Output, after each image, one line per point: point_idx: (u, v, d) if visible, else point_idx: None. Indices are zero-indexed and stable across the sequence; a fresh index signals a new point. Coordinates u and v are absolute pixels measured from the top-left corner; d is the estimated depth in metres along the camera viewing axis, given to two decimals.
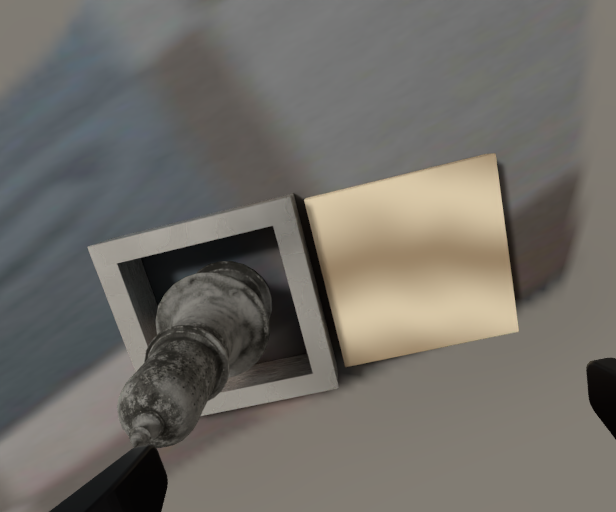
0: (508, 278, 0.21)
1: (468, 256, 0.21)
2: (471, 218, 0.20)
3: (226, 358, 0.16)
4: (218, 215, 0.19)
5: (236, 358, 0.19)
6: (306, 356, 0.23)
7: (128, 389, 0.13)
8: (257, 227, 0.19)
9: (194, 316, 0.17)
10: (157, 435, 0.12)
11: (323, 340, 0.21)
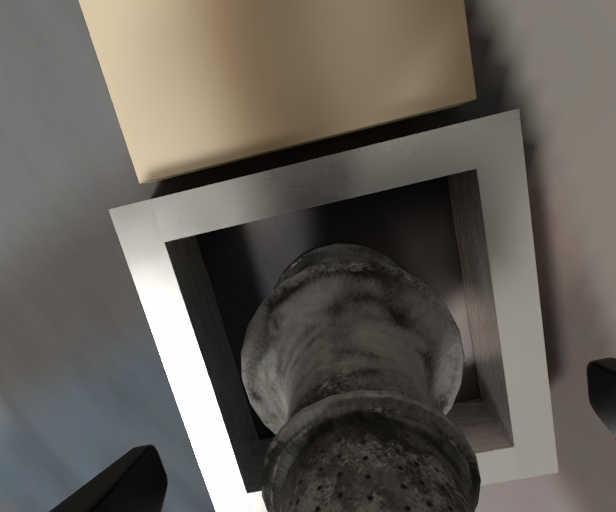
0: None
1: None
2: None
3: (348, 398, 0.06)
4: (154, 334, 0.11)
5: (412, 332, 0.09)
6: (451, 182, 0.12)
7: None
8: (169, 270, 0.11)
9: None
10: None
11: (400, 144, 0.10)
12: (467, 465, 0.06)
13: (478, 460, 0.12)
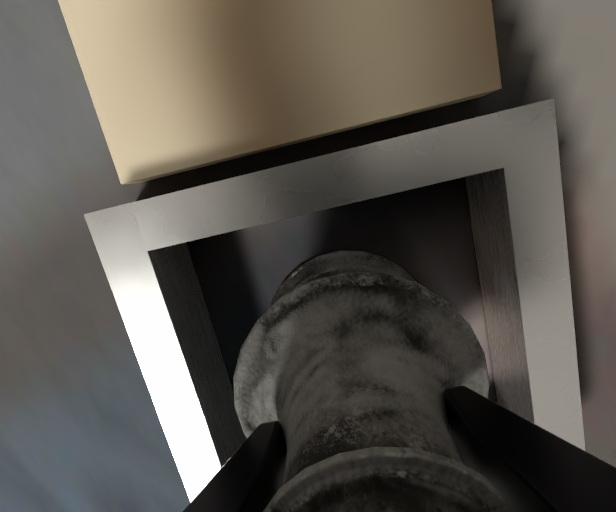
0: None
1: None
2: None
3: (363, 457, 0.05)
4: (137, 354, 0.10)
5: (431, 357, 0.08)
6: (470, 182, 0.11)
7: None
8: (153, 282, 0.09)
9: None
10: None
11: (416, 139, 0.08)
12: None
13: None
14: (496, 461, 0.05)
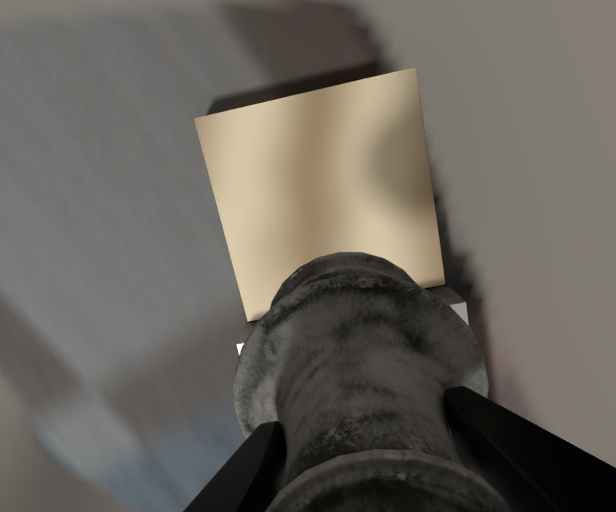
0: (342, 88, 0.17)
1: (311, 141, 0.17)
2: (267, 141, 0.17)
3: (363, 460, 0.05)
4: None
5: (431, 359, 0.08)
6: None
7: None
8: None
9: None
10: None
11: None
12: None
13: None
14: (496, 461, 0.05)
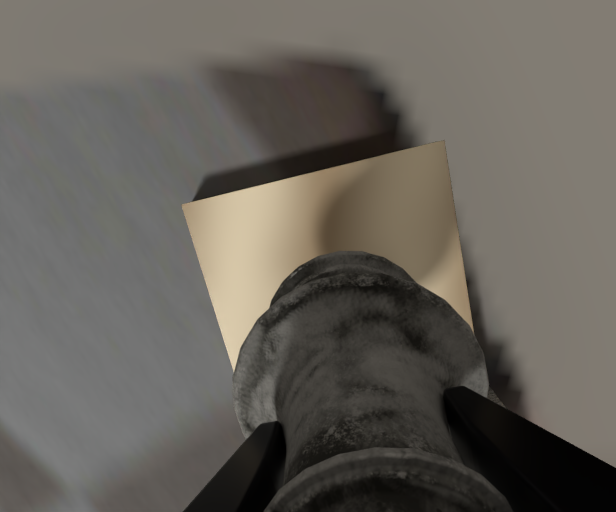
0: (356, 167, 0.14)
1: (321, 227, 0.15)
2: (269, 228, 0.15)
3: (363, 458, 0.05)
4: None
5: (431, 358, 0.08)
6: None
7: None
8: None
9: None
10: None
11: None
12: None
13: None
14: (496, 461, 0.05)
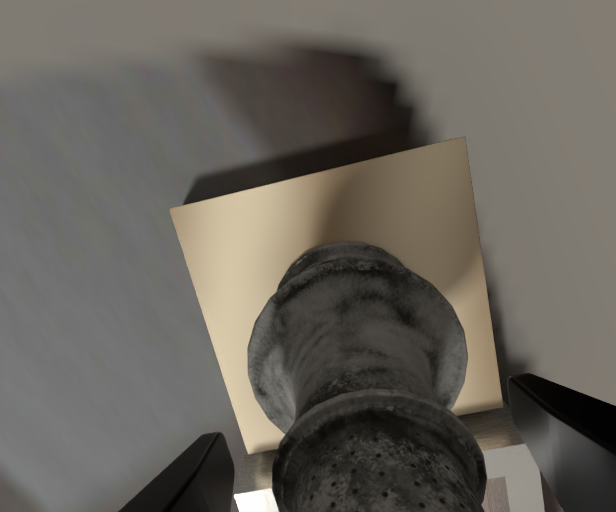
0: (365, 166, 0.12)
1: (326, 235, 0.13)
2: (267, 236, 0.13)
3: (360, 396, 0.06)
4: None
5: (418, 332, 0.09)
6: None
7: None
8: None
9: None
10: None
11: None
12: (475, 464, 0.06)
13: None
14: (588, 445, 0.05)
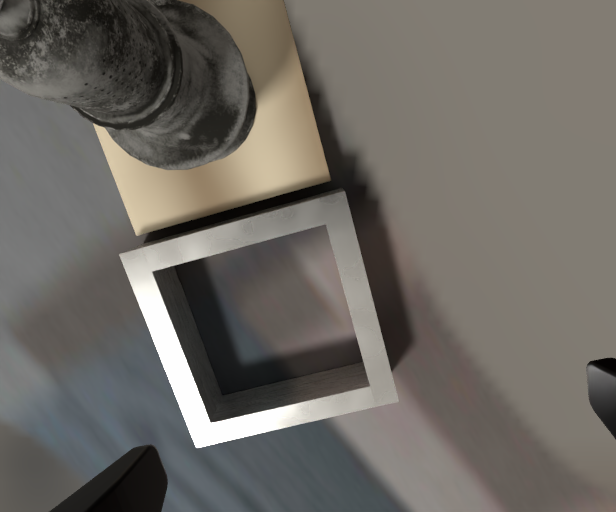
0: None
1: None
2: None
3: None
4: (148, 326, 0.19)
5: (197, 42, 0.13)
6: None
7: None
8: (155, 287, 0.18)
9: None
10: None
11: (281, 212, 0.17)
12: (165, 32, 0.10)
13: (349, 395, 0.19)
14: None
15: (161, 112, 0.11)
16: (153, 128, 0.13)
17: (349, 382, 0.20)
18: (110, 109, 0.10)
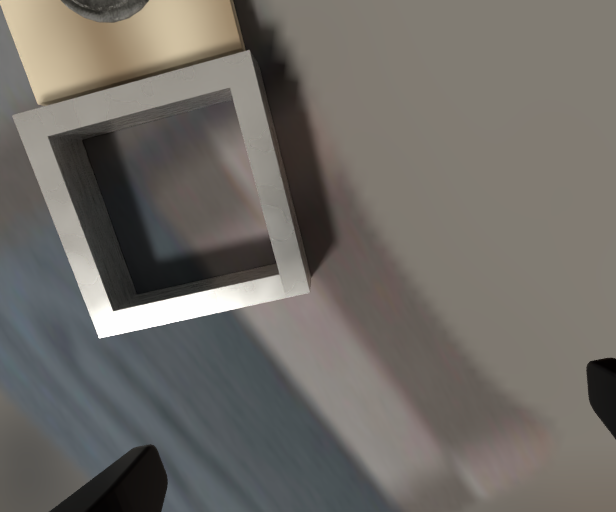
0: None
1: None
2: None
3: None
4: (45, 198, 0.18)
5: None
6: None
7: None
8: (51, 154, 0.17)
9: None
10: None
11: (182, 72, 0.16)
12: None
13: (258, 284, 0.18)
14: None
15: None
16: None
17: (261, 274, 0.19)
18: None
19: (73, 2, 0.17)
